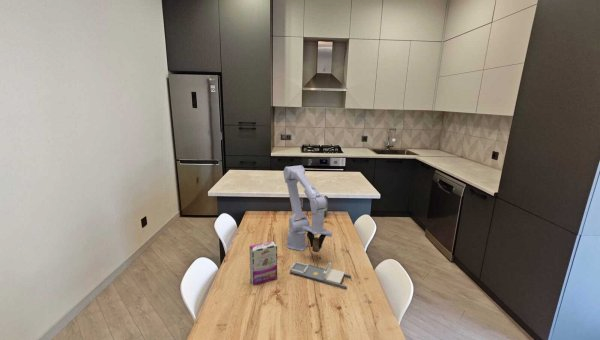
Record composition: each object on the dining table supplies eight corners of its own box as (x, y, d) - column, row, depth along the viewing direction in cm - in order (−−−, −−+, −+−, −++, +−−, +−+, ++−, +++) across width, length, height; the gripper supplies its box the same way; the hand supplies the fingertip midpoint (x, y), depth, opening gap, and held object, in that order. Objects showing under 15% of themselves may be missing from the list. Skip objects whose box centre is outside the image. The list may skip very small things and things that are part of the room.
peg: (311, 251, 137) (311, 239, 135) (313, 247, 140) (314, 236, 138) (318, 252, 135) (318, 241, 134) (320, 249, 139) (321, 238, 137)
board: (288, 273, 128) (289, 269, 128) (296, 263, 136) (296, 259, 136) (346, 289, 119) (346, 285, 118) (350, 277, 127) (351, 273, 126)
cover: (322, 280, 122) (323, 271, 121) (328, 269, 130) (328, 261, 129) (339, 284, 120) (340, 275, 119) (344, 273, 127) (345, 265, 126)
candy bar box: (273, 273, 128) (273, 240, 124) (277, 279, 124) (278, 245, 120) (249, 279, 123) (249, 245, 119) (253, 285, 119) (252, 250, 115)
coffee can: (326, 220, 188) (327, 200, 184) (311, 218, 189) (312, 198, 186) (327, 214, 198) (328, 195, 194) (312, 212, 199) (313, 193, 196)
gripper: (300, 221, 133) (299, 247, 136) (329, 227, 128) (328, 254, 131) (305, 216, 139) (304, 241, 143) (334, 221, 134) (332, 247, 137)
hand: (316, 247), depth 137 cm, fingers closed on peg, 4 cm apart
